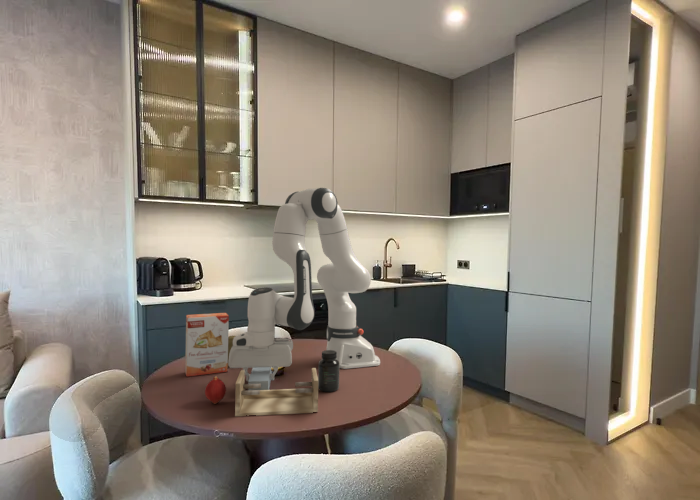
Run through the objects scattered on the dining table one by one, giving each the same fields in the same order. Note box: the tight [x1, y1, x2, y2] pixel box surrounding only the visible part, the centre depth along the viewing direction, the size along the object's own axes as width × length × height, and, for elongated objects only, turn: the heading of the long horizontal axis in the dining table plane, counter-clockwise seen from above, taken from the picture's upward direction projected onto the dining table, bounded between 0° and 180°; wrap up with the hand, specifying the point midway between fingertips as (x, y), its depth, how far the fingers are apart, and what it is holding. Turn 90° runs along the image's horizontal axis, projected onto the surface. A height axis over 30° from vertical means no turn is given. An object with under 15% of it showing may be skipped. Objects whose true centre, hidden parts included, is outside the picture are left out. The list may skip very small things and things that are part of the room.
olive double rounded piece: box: [228, 335, 236, 368], centre depth 150 cm, size 6×6×11 cm
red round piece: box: [204, 376, 227, 405], centre depth 114 cm, size 6×6×8 cm
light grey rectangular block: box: [247, 367, 272, 391], centre depth 128 cm, size 17×6×5 cm, turn 8°
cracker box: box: [184, 312, 230, 377], centre depth 141 cm, size 14×6×21 cm, turn 118°
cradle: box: [234, 367, 319, 417], centre depth 113 cm, size 22×11×9 cm, turn 99°
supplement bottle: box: [317, 350, 340, 393], centre depth 128 cm, size 7×7×12 cm
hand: (260, 380), depth 128 cm, fingers closed on light grey rectangular block, 6 cm apart
